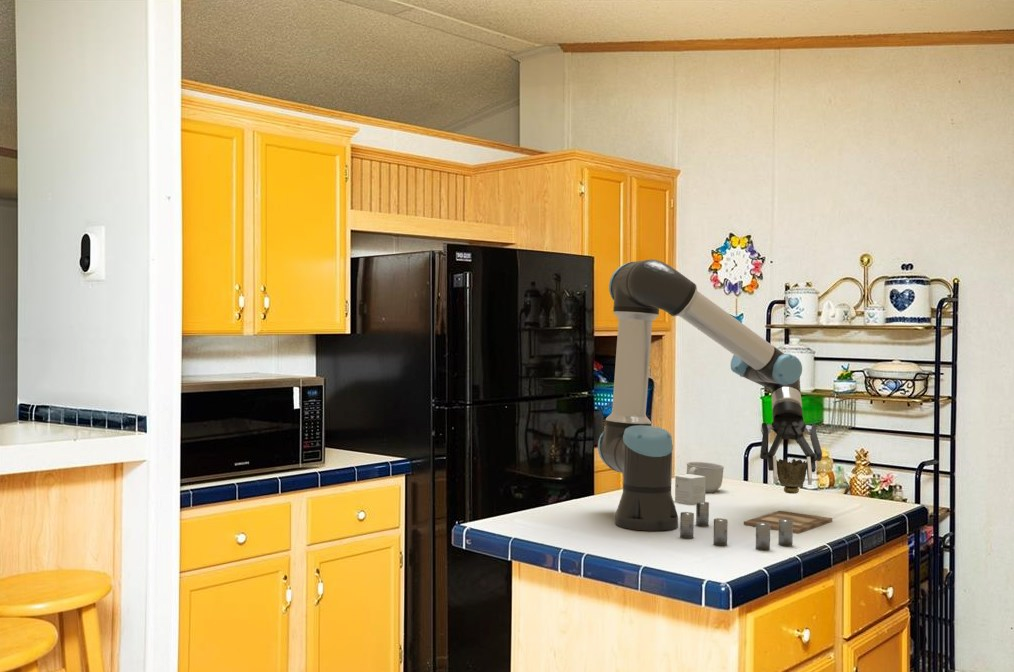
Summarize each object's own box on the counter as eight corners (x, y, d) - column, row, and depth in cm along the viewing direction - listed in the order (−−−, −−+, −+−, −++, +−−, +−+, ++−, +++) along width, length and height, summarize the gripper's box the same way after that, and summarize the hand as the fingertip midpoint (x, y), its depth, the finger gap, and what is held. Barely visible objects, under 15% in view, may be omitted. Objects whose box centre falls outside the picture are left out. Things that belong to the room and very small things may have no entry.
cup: (777, 494, 237) (778, 462, 237) (773, 489, 244) (774, 458, 244) (809, 496, 236) (809, 463, 235) (804, 490, 243) (805, 459, 243)
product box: (674, 501, 267) (674, 475, 267) (688, 499, 271) (688, 473, 271) (691, 505, 263) (692, 478, 262) (706, 502, 266) (706, 476, 266)
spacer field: (710, 552, 206) (711, 527, 206) (657, 525, 234) (657, 502, 234) (801, 548, 212) (801, 523, 212) (738, 522, 239) (739, 500, 239)
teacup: (701, 486, 294) (702, 460, 294) (731, 491, 285) (731, 464, 285) (671, 491, 285) (671, 463, 285) (700, 496, 276) (701, 468, 276)
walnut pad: (798, 533, 228) (798, 529, 228) (743, 524, 237) (743, 521, 237) (832, 521, 243) (832, 517, 243) (779, 513, 252) (779, 510, 252)
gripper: (826, 419, 253) (834, 491, 237) (746, 417, 257) (749, 488, 241) (829, 400, 248) (838, 473, 232) (747, 398, 251) (750, 470, 236)
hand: (792, 480), depth 236 cm, fingers closed on cup, 7 cm apart
